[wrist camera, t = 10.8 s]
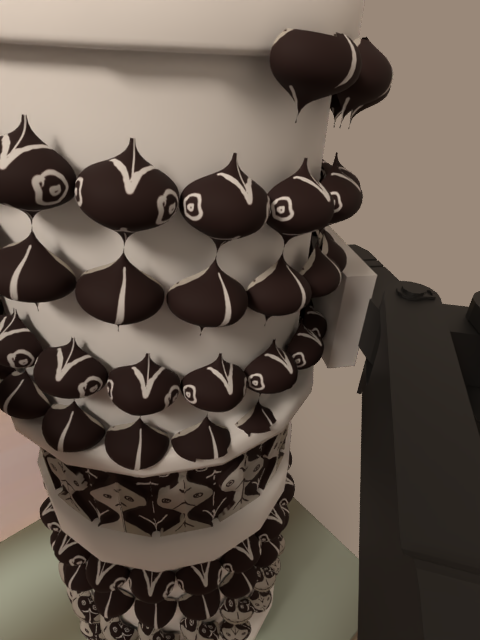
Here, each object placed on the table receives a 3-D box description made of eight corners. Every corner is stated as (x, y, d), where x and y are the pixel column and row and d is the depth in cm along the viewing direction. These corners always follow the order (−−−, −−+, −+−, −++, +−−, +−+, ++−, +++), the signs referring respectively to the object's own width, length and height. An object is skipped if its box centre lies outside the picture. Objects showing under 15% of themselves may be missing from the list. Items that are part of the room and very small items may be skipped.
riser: (-8, 615, 22) (-38, 564, 19) (210, 470, 30) (211, 419, 27) (114, 960, 14) (92, 958, 11) (366, 637, 22) (390, 589, 19)
